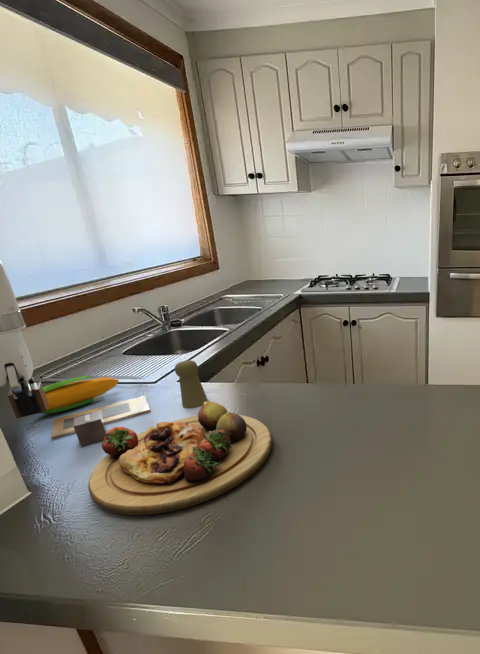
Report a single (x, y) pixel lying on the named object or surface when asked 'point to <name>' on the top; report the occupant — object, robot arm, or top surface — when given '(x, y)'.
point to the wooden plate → (178, 461)
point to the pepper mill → (190, 384)
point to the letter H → (39, 394)
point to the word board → (103, 415)
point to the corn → (75, 392)
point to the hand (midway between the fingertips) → (32, 408)
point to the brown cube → (90, 428)
